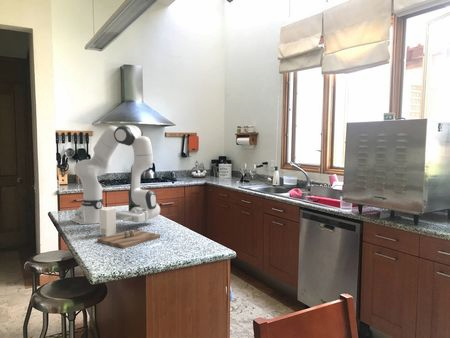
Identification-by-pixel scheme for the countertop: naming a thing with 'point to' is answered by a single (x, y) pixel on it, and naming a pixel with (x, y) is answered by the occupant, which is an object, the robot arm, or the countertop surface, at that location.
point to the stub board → (128, 238)
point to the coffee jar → (131, 204)
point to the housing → (107, 221)
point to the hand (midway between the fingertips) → (118, 218)
